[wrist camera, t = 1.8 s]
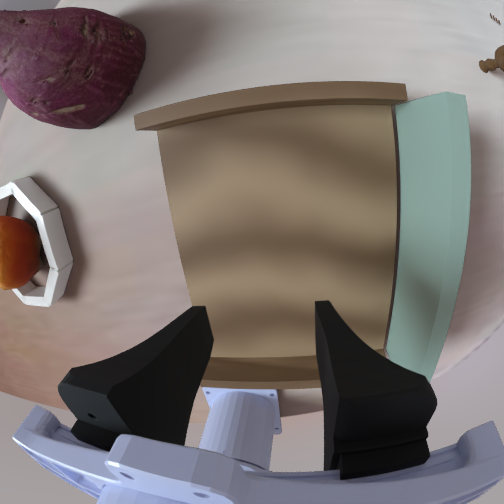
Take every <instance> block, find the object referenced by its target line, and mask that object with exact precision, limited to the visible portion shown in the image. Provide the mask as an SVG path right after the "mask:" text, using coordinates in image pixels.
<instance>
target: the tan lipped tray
mask: <svg viewBox="0 0 504 504" xmlns="http://www.w3.org/2000/svg"><path fill="white" fill-rule="evenodd" d="M407 100H408V99H407V92H406V86H405V84H401V83H387V82H366V81H328V82H306V83H292V84H281V85H271V86H263V87H255V88H248V89H242V90H235V91H230V92H224V93H219V94H213V95H208V96H204V97H199V98H195V99H190V100H186V101H182V102H178V103H174V104H170V105H166V106H163V107H159V108H156V109H152V110H149V111H146V112H142V113H139V114H136V115H134V121H135V129H136V130H152V131H157V135H158V142H159V148H160V155H161V161H162V167H163V173H164V179H165V185H166V190H167V195H168V201H169V206H170V211H171V216H172V221H173V226H174V231H175V235H176V240H177V244H178V249H179V253H180V258H181V262H182V266H183V270H184V275H185V279H186V283H187V287H188V291H189V295H190V298H191V302H192V306H206V310H207V314H208V318H209V322H210V326H211V330H212V334H213V338H214V343H213V348H212V352H211V357H210V360H209V363H208V365H207V368H206V370H205V373H204V376H203V378H202V381H201V383H200V386H201V387H209V388H226V389H305V388H321V382H320V376H319V370H318V364H317V358H316V343H315V301H324V300H329V301H330V302H331V303H332V305H333V307H334V308H335V310H336V311H337V312H338V314H339V315H340V316H341V318H342V319H343V320H344V321H345V322H346V324H347V325H348V326H349V327H350V328H351V329H352V330H353V332H354V333H355V334H356V335H357V336H358V337H359V338H360V339H362V340H363V341H364V342H365V343H366V344H367V345H368V346H370V347H371V348H372V349H373V350H375V351H376V352H378V353H379V354H381V355H382V356H384V357H385V358H386V356H385V353H384V350H383V346H384V341H385V335H386V329H387V323H388V316H389V309H390V302H391V294H392V285H393V275H394V263H395V249H396V228H397V176H396V155H395V141H394V130H393V120H392V112H391V105H394V104H397V103H400V102H404V101H407Z"/></svg>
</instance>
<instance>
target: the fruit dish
mask: <svg viewBox="0 0 504 504" xmlns="http://www.w3.org/2000/svg"><path fill="white" fill-rule="evenodd" d="M12 195H14V196H15V197H16V199H17V200H18V201H19V202H20V203H21V204H22V205H23V207H24V208H25V209H26V210H27V211H28V212H29V213H30V214H31V216H32V217H33V218H34V219H35V220H36V222H37V226H38V230H39V233H40V237H41V240H42V244H43V247H44V250H45V253H46V256H47V259H48V263H49V265H50V270H49V275H48V279H47V284H46V287H37V286H35V285H34V284H33V283H32V282H31V281H30V280H29V282H28V283H26V284H25V285H23V286H21V287H19V288H16V289H12V290H13V291H14V292H15V294H16V295H17V296H18V297H19V298H20V299H21V300H22V302H23V303H25V304H26V305H35V306H45V307H50V306H51V305H52V304H54V303H55V302H56V301H57V300H58V299H60V298H61V297H62V296H63V295H64V291H65V288H66V285H67V281H68V278H69V275H70V272H71V268H72V265H73V257H72V254H71V251H70V248H69V244H68V241H67V237H66V234H65V230H64V226H63V222H62V218H61V214H60V210H59V208H57V207H58V205H57V204H56V203H55V202H54V201H53V200H52V199H51V198H50V197H49V196H48V195H47V194H46V193H45V192H44V191H43V190H42V189H41V188H40V187H39V186H38V185H37V184H36V183H35V182H34V181H33V180H32V179H31V178H30V177H25V178H22V179H19V180H15V181H12V182H10V183H8V184H6V185H5V186H3V187H1V188H0V216H6V211H7V206H8V201H9V197H10V196H12Z"/></svg>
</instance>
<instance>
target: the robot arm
mask: <svg viewBox="0 0 504 504" xmlns="http://www.w3.org/2000/svg"><path fill="white" fill-rule="evenodd" d="M213 343H214V338H213V334H212V330H211V326H210V322H209V318H208V314H207V310H206V306H192V307H191V308H189V309H188V310H187V311H185V312H184V313H183V314H181V315H180V316H179V317H177V318H176V319H175V320H174V321H172V322H171V323H170V324H168V325H167V326H166V327H164V328H163V329H161V330H160V331H159V332H157V333H156V334H154V335H153V336H151V337H150V338H148V339H147V340H145V341H144V342H142V343H140V344H138V345H136V346H135V347H133V348H131V349H129V350H127V351H124V352H122V353H120V354H118V355H115V356H113V357H110V358H108V359H105V360H102V361H99V362H96V363H92V364H88V365H84V366H79V367H75V368H71V370H70V371H69V372H68V373H67V375H66V376H65V377H64V379H63V380H62V381H61V382H60V384H59V385H58V392H59V394H60V396H61V398H62V400H63V401H64V402H65V404H66V405H67V406H68V408H69V409H70V410H71V412H72V413H73V414H74V415H75V417H76V418H77V419H78V420H77V421H76V423H75V424H74V426H73V427H72V428H69V427H67V426H65V425H63V424H61V423H60V421H59V420H58V419H57V418H56V417H55V415H54V414H52V413H51V412H50V411H48V410H46V409H44V408H42V407H40V406H38V405H35V407H34V408H33V409H32V411H31V412H30V413H29V415H28V416H27V417H26V419H25V420H24V421H23V423H22V424H21V425H20V427H19V428H18V430H17V431H16V432H15V434H14V435H13V439H14V440H15V441H16V442H17V443H18V444H19V445H20V446H21V447H22V448H23V449H24V450H25V451H26V452H27V453H28V454H29V455H30V456H31V457H32V458H33V459H34V460H36V461H37V462H38V463H39V464H40V465H41V466H42V467H44V468H46V469H47V470H49V471H50V472H51V473H53V474H55V475H57V476H58V477H60V478H61V479H63V480H64V481H66V482H68V483H69V484H71V485H73V486H74V487H76V488H78V489H80V490H81V491H83V492H85V493H87V494H89V495H91V496H93V497H94V498H96V499H98V501H97V503H96V504H466V503H468V502H470V501H473V500H475V499H477V498H479V497H480V496H481V495H483V494H484V493H485V492H487V491H488V490H489V489H491V488H492V487H493V486H495V485H496V484H497V483H498V482H500V480H502V479H503V478H504V446H503V443H502V441H501V438H500V436H499V433H498V431H497V428H496V426H495V424H494V422H493V421H489V422H487V423H485V424H482V425H480V426H478V427H475V428H473V429H471V430H468V431H467V432H466V433H464V434H463V435H462V436H461V437H460V439H459V441H458V443H456V444H453V445H450V446H448V447H445V448H441V449H438V450H435V451H432V452H429V448H428V445H427V441H426V438H427V437H428V431H427V428H426V426H427V424H428V423H429V421H430V419H431V417H432V415H433V413H434V411H435V409H436V406H437V398H436V396H435V393H434V391H433V389H432V387H431V385H430V383H429V382H428V380H427V378H426V376H424V375H421V374H419V373H416V372H414V371H411V370H408V369H406V368H404V367H402V366H400V365H398V364H396V363H394V362H392V361H390V360H389V359H387V358H385V357H384V356H382V355H381V354H379V353H378V352H376V351H375V350H373V349H372V348H371V347H370V346H368V345H367V344H366V343H365V342H364V341H363V340H362V339H360V338H359V337H358V336H357V335H356V334H355V333H354V332H353V330H352V329H351V328H350V327H349V326H348V325H347V324H346V322H345V321H344V320H343V319H342V318H341V316H340V315H339V314H338V312H337V311H336V310H335V308H334V307H333V305H332V303H331V302H330V301H329V300H324V301H315V343H316V358H317V364H318V370H319V376H320V382H321V389H322V395H323V407H324V471H314V472H272V471H269V466H270V458H271V450H272V440H273V434H281V432H282V429H281V420H280V411H279V402H278V393H277V389H226V388H209V387H203V391H204V394H205V397H206V399H207V402H208V404H209V407H210V412H209V416H208V419H207V422H206V425H205V428H204V432H203V435H202V438H201V442H200V445H199V448H194V447H188V446H184V445H185V439H186V433H187V428H188V424H189V419H190V415H191V411H192V407H193V403H194V399H195V396H196V393H197V391H198V388H199V386H200V383H201V381H202V378H203V376H204V373H205V370H206V368H207V365H208V363H209V360H210V357H211V352H212V348H213Z"/></svg>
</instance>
